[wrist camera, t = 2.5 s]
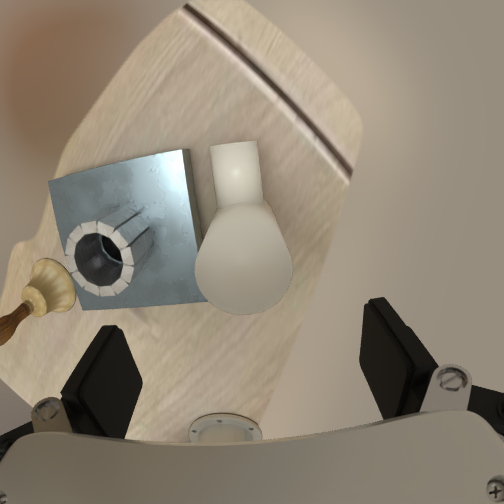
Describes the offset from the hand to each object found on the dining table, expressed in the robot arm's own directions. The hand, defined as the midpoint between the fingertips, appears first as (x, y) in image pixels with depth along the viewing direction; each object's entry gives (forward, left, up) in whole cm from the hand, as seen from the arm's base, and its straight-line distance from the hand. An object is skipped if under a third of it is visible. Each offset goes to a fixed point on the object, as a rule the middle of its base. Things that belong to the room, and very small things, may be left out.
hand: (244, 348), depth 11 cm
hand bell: (-6, +28, -24) cm, 38 cm away
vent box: (0, +13, -24) cm, 27 cm away
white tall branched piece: (+2, 0, -24) cm, 24 cm away
